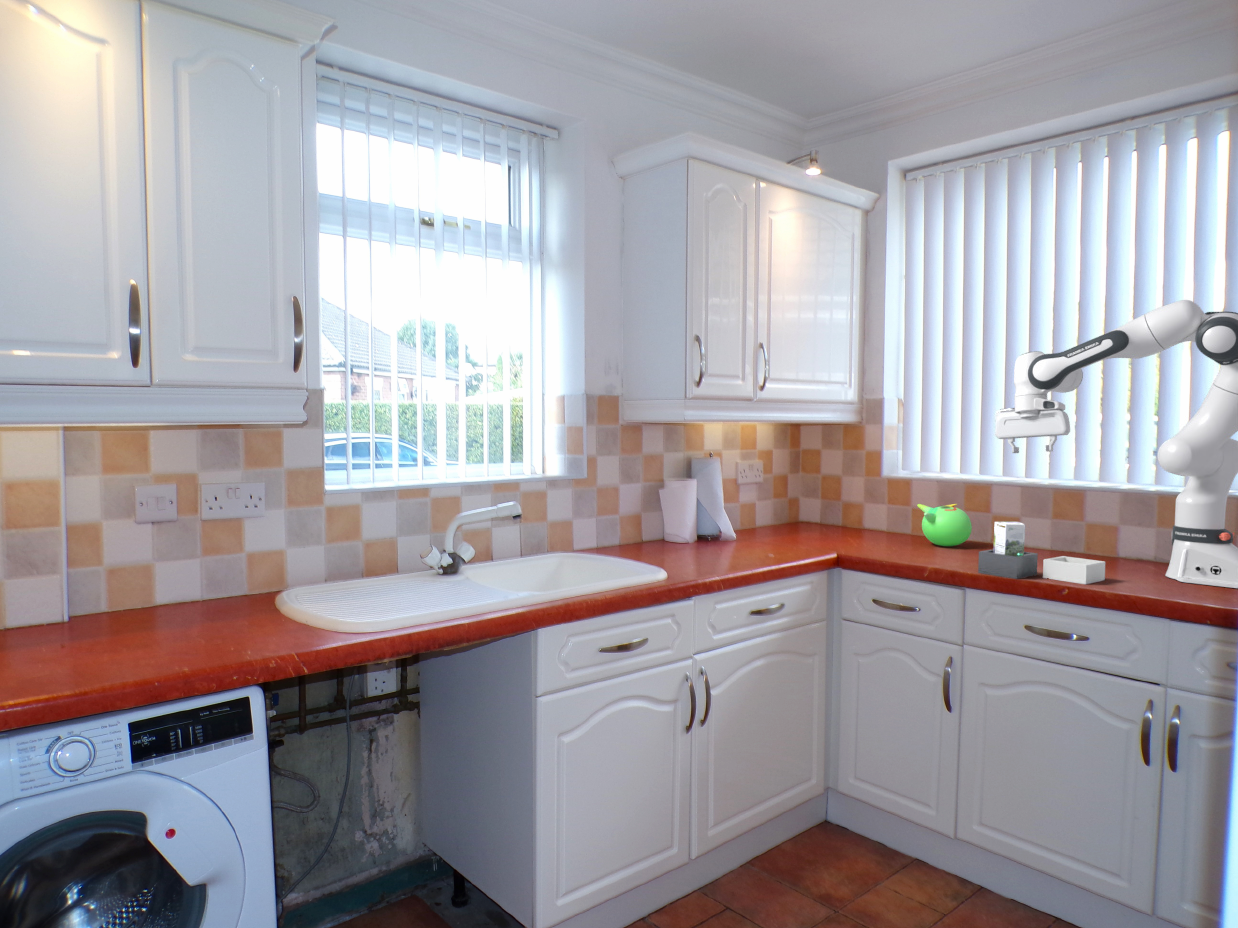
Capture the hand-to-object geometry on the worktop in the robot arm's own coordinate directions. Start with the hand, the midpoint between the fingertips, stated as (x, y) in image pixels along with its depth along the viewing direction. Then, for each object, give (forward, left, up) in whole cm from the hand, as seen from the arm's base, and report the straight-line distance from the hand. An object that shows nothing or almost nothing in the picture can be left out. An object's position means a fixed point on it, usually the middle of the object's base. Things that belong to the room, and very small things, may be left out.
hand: (1032, 452), depth 242 cm
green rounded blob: (+35, -12, -34) cm, 50 cm away
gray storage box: (-6, +23, -34) cm, 41 cm away
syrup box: (-6, +23, -34) cm, 41 cm away
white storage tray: (-20, +15, -34) cm, 42 cm away
